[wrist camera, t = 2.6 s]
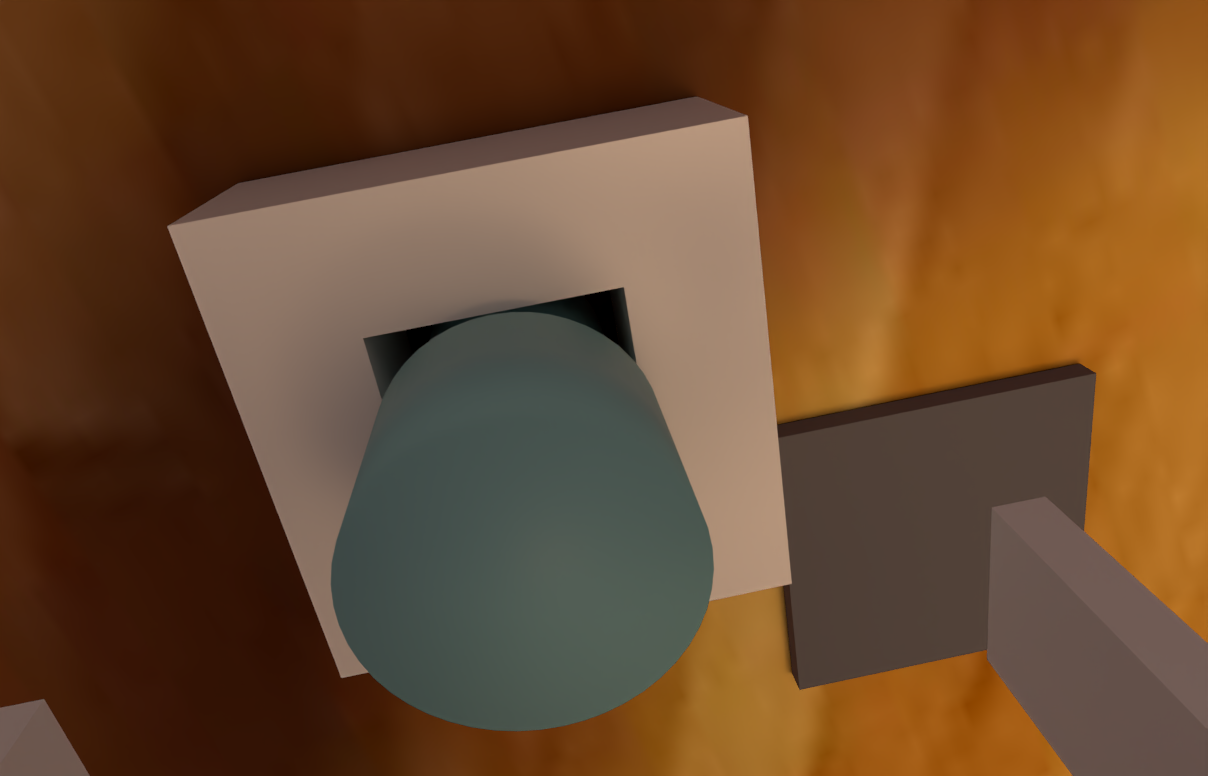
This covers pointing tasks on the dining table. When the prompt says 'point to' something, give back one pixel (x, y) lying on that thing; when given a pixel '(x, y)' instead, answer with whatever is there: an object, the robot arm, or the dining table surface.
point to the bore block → (500, 304)
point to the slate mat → (918, 515)
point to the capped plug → (521, 527)
